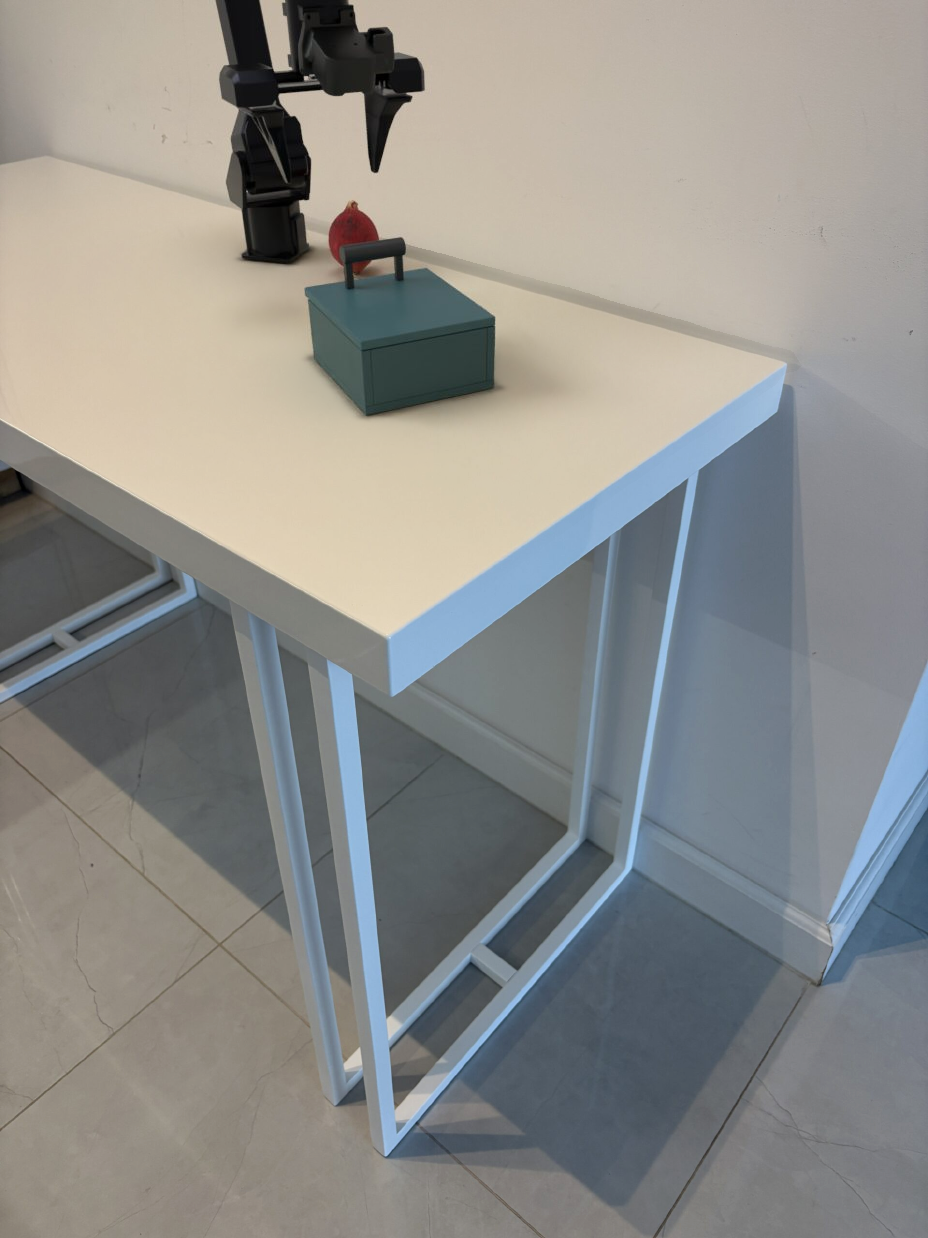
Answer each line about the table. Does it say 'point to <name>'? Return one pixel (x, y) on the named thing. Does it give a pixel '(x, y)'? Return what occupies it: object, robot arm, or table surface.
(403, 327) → the cool box lid
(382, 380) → the cool box
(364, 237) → the onion
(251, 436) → the table surface
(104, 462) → the table surface
